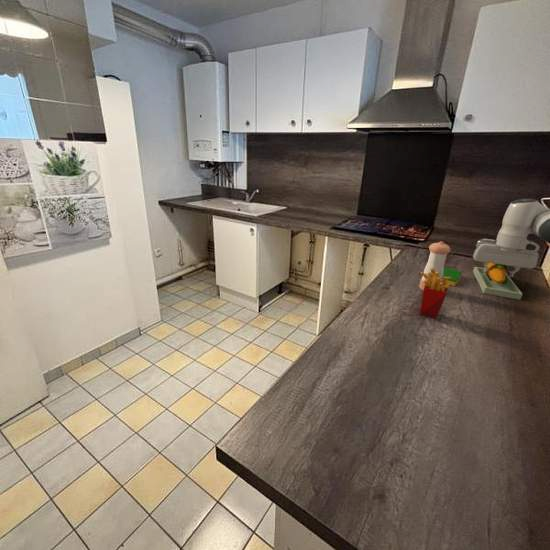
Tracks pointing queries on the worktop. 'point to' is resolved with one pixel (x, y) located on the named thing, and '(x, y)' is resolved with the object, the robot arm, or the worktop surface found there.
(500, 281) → the corn
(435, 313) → the french fries
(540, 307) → the worktop surface
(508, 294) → the tray
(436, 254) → the pepper shaker
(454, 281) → the dish sponge
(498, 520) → the worktop surface
